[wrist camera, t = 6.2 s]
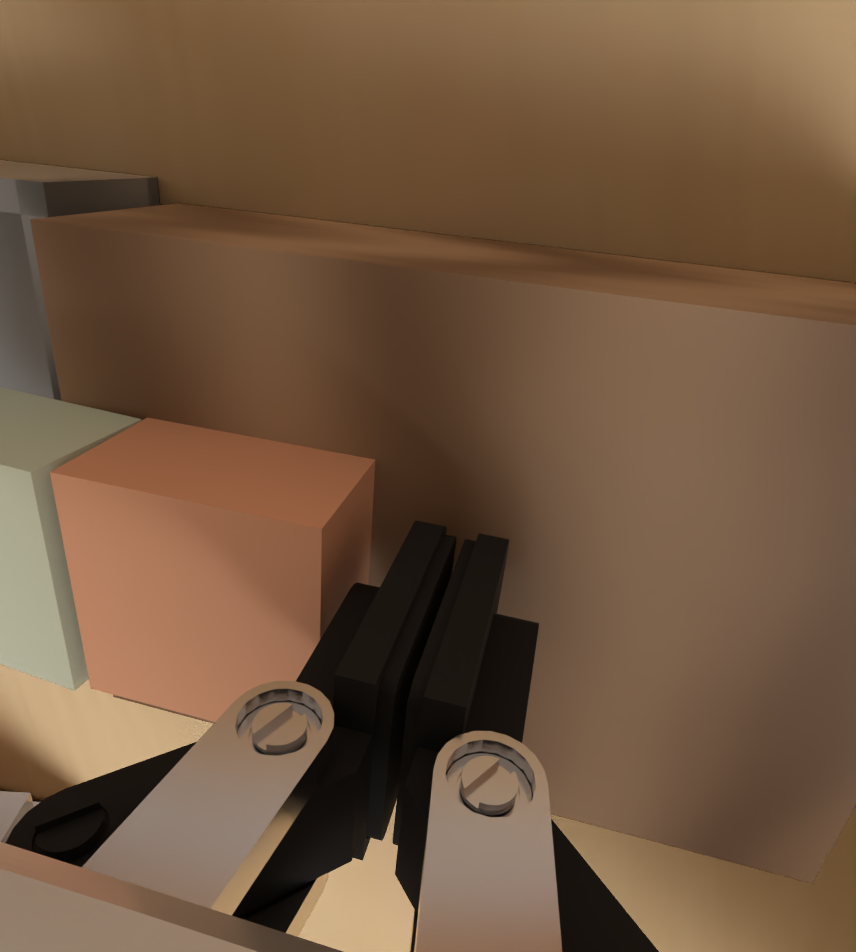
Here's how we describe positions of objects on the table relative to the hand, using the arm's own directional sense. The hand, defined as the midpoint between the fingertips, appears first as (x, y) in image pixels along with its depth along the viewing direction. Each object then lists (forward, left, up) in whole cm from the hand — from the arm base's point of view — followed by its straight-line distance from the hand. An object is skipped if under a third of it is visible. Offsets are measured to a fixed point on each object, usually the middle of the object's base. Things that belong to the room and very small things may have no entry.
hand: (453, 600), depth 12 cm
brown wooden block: (0, 0, -5) cm, 5 cm away
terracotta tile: (+4, 0, -1) cm, 4 cm away
